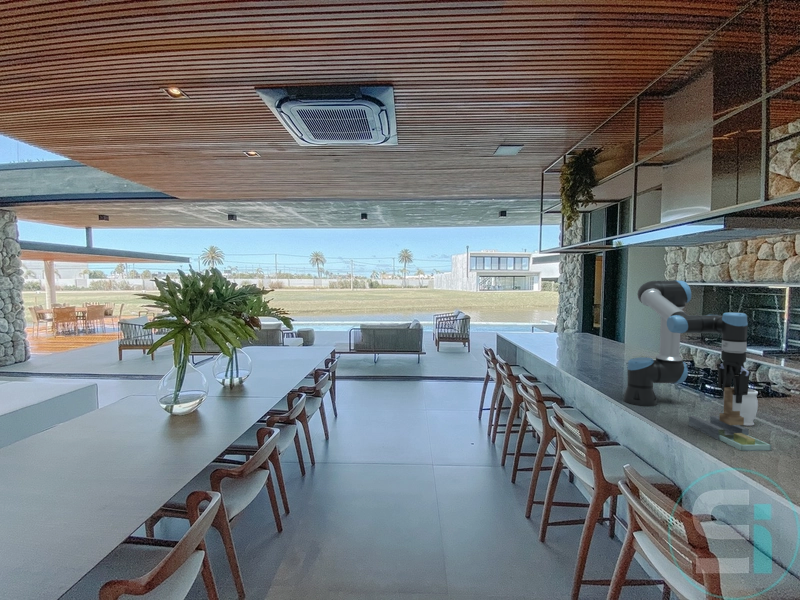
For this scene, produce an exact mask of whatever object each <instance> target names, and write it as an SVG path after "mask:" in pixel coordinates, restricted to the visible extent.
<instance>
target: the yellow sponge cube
mask: <svg viewBox="0 0 800 600" xmlns="http://www.w3.org/2000/svg"><path fill="white" fill-rule="evenodd" d="M749 436H750V435H749ZM749 436H740V444H742V445H755V439H754V438H755V437H754V438H752V437H753V436H751V437H749Z"/></svg>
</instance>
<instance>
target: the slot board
mask: <svg viewBox="0 0 800 600" xmlns="http://www.w3.org/2000/svg"><path fill="white" fill-rule="evenodd" d="M719 418H720V416H719V415H718V416H717V415H710V417H709V420H704V419H702V418H700V417H697V416H695V415H689V416H688V426H689V427H690V426H691V427H690V428H693V429H694V430H696V431H699V432H701V433H703V434H705V435H707V436H709V437H711V438H713V439H716V440H717V441H720V440H719V435H722V436H724V437H726V438H728V439H734V433H742V434H745V435H749V433H750V432H749V431H750V430H749V428H747V427H745V426H743V425H728V424H726V423H724V422H722V421H719Z"/></svg>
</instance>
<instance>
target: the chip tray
mask: <svg viewBox="0 0 800 600" xmlns="http://www.w3.org/2000/svg"><path fill="white" fill-rule="evenodd" d="M747 436H749V437H752V438H754V439H755V445H742V444H740V443H738V442H736V441H734V439H728V438H726V437H724V436H722V435H719V440H718V441H721V442H723V443H725V444H727V445H729V446H731V447H733V448H735V449H737V450H739V451H741V452H742V451H747V452H749V451H751V452H752V451H758V452H759V451H772V444H769V443H767V442H766V441H762V440H761V439H758V438H757V437H756V438H755V437H754V436H751V435H749V434H748V435H747Z"/></svg>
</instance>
